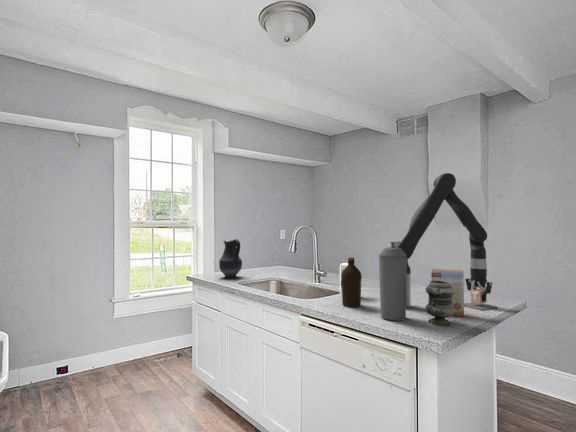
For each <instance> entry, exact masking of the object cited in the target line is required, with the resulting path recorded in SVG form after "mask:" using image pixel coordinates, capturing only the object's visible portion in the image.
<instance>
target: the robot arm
mask: <svg viewBox="0 0 576 432" xmlns="http://www.w3.org/2000/svg"><path fill="white" fill-rule="evenodd" d="M433 180H434V181H433V189H432V190H431V192H430V194H429V195H428V196H427V197H426V198H425V199H424V200H423V202H422V203H421V204H419V206H418V208H417V209H416V211H415V212H414V214H413V216H412V217H411V219H410V220H411V221H410V223H409V226H408V227H409V228H408V230H407V232H406V234H405V235H404V237H403V238H402V240H401V241H394V242H395V243H394V246H395V247H398V248H401V249H402V250H403V252H405V254H406V255H407V282H406V309H407V308H411V307H412V305H411V304H412V302H411V301H412V299H411V298H412V297H411V295H412V286H411V285H412V283H411V281H412V280H411V275H412V274H411V267H410V265H409V262H408V261H409V259H410V258H411V257H413V256H412V255H413V254H414V252H415V249H416V247H417V246H418V244H419V242H420V241H421V238H422V237H423V235H425V233H426V231H427V230H428V228H429V226H430V225H431V223H432V222H433V220H434V219H435V218H436V217H435V216H436V215H437V213H438V211H439V210H440V208H441V206H442V204H443V202H444V201H445V202H446V203H447V204H448V205H449V207H450V208H451V210H452V211H453V212H454V214H455V215H456V217H457V219H458V220H459V221H460V223H461V224H462V226H463V227H464V228H466V230H467V231H468V232H469V235H468V238H469V239H468V240H469V247H470V261H469V262H470V263H469V265H470V267H469V270H470V273H469V275H470V277H469V278H465V279H464V281H465V283H466V284H465V285H466V287H467V288H466V289H467V290H468V291H470V292H471V290H475V289H480V290H481V292H482V302H485V301H486V300H487V299H486V298H488V297H487V295H488V294H491V291H492V288H493V282H492V281H488V279H487V276H488V267H487V266H488V263H487V262H488V261H487V250H486V247H485V241H486V240H487V238H488V233H487V231H486V228H484V227H483V225H482V224H481V223H479V221H478V220H477V218H476V216H475V215H474V213H473V212H472V210H471V209H470V207H469V206H468V205H467V204H466V203H465V202H464V201H463V200H462V199H461V198H459V196H458V195H457V194H456V192H455V191H454V188H455V187H456V184H457V179H456V177H455V175H454V174H453V173H450V172H448V173H447V172H446V173H445V172H444V173H442V174H441V175H438V176H437V177H436V178H435V179H433Z"/></svg>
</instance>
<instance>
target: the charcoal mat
mask: <svg viewBox="0 0 576 432" xmlns="http://www.w3.org/2000/svg"><path fill="white" fill-rule="evenodd" d="M464 308H471V309H475V310H478V311H480V312H481V311H482V312H483V311H486V310H494V309H498V306H496V305H492V304H490V303H489V304H488V303H481V304H479V303H475V302H471V301H470V302H466V303H465V302H464Z"/></svg>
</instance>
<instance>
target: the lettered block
mask: <svg viewBox="0 0 576 432" xmlns="http://www.w3.org/2000/svg"><path fill="white" fill-rule="evenodd" d="M487 298H488V297H487ZM487 298H486V299H487ZM471 302H475V303H479V304H481V303H484V304H488V303H487V300H486V301H485V302H482V292H481V290H480V288H476V289H475V290H471V291H470V303H471Z"/></svg>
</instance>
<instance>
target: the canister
mask: <svg viewBox="0 0 576 432" xmlns="http://www.w3.org/2000/svg"><path fill="white" fill-rule="evenodd" d="M395 242H396V241H390V242H389V243H390V245H391V246H388V247H385V248H383V249H382V250H381V252H380V253H378V263H379V264H378V268H379V269H378V273H379V297H380V299H379V301H380V316H381V318H382V317H383V318H382V319H384V318H385V319H384V320H387V319H390V320H389V321H393V320H399V321H404V320H406V317H407V313H406V312H407V308H406V282H407V255H406V254H405V252H403V250H402V249H401V248H398V247H395V246H394V243H395ZM403 319H404V320H403Z"/></svg>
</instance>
